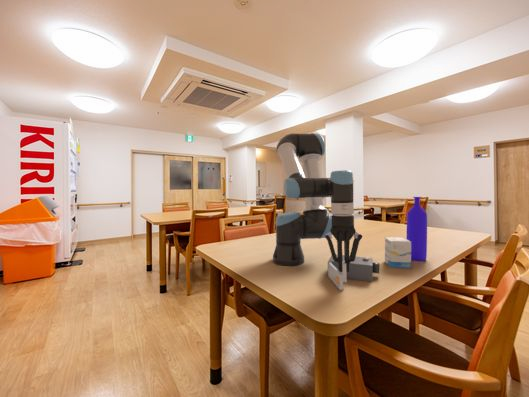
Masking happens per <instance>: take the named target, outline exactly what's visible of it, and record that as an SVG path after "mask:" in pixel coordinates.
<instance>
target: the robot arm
mask: <svg viewBox="0 0 529 397" xmlns="http://www.w3.org/2000/svg"><path fill="white" fill-rule="evenodd" d="M325 143H326V142H325V140H324V137H323V136H322V134H319V133H313V132H312V133H289V134H286V135H284V136H283V137H282V138H281V139H280V140H279V141H278V142H277V144H276V148H275V149H276V154H277V157H278V158H279V159H280V162H281V164H282V167H283V171H284V175H285V177H286V178H285V180H284V181H283V182H284V183H283V192H284V196H285V197H286V198H292V199H299V198H300V199H301V198H302V199H303V198H304V202H305V203H304V204H305V209H303V210H302V214H301V212H300V211H289V212H283V213H279V214H277V215H276V217H275V241H276V242H275V244H276V245H275V248H274V251H273V254H272V262H273V263H274V264H277V265H280V266H287V267H288V266H289V267H293V266H298V265H301V264H304V262H305V255H304V252H303V248H302V245H301V239H302V240H307V239H308V240H309V239H311V240H312V239H319V240H320V239H326V240H327V244H328V246H329V247H328V248H329V251H330V254H331V256H332V258H333V260H334V261H335V262H338V270H339V271H340V272H341V273H342V274H343V283H347V279H348V278H346V272H349V264H350V262H354V261H355V257H357V253H358V248H359V244H360V241H361V240H362V238H363V235H362V234H361V233H359V232H357V231H356V229H355V216H354V215H353V214H354V212H355V211H354V183H355V182H354V174H353V172H352V171H351V170H347V169H346V170H345V169H344V170H333V171H331V172H330V177H321V168H320V161H321V160H322V158H323V156H324V155H325V151H326V149H325V148H326V144H325ZM323 198H330V205H331V206H330V208H331V210H330V212H331V214H330V213H328V210H327V208H325V207H324V201H323ZM333 238H334V239H335V240H336V247H337V248H336V249H337V254H336V251H335V247H334V244H333V241H332V239H333ZM353 238H354V239H353ZM352 239H353V242H352V246H351V249H350V243H351V242H350V240H352ZM343 243H344V244H343ZM343 247H344V248H343ZM343 249H344V250H343ZM343 251H344V252H343ZM343 253H344V254H343ZM336 255H338V258H337V257H336ZM342 255H344V260H345V262H344V261H343V258H342ZM349 256H350V257H349Z"/></svg>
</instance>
